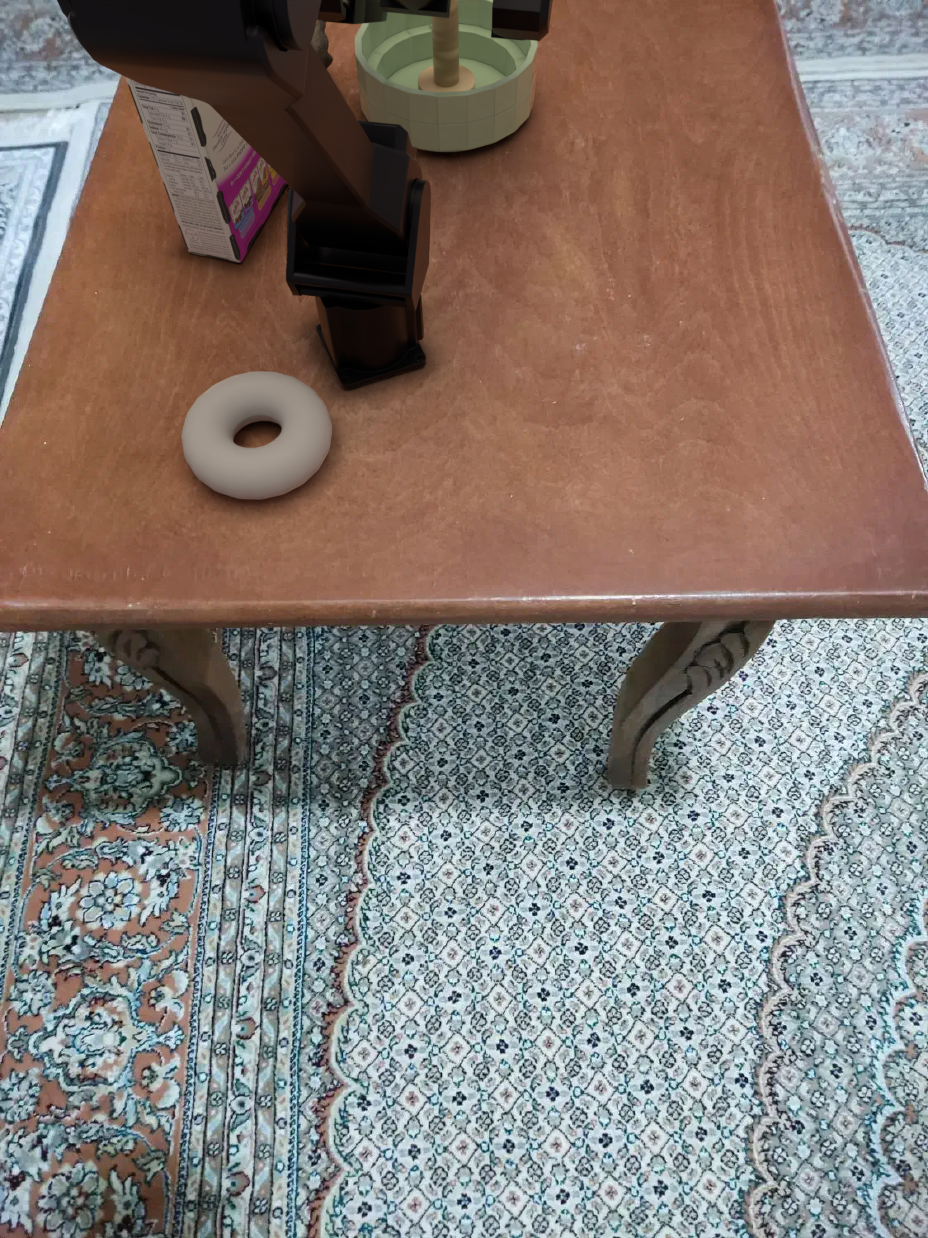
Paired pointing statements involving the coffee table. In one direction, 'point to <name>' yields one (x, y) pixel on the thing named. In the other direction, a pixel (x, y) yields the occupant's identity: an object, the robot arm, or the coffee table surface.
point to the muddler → (446, 57)
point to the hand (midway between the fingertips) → (441, 18)
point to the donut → (266, 465)
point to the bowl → (445, 118)
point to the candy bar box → (207, 173)
